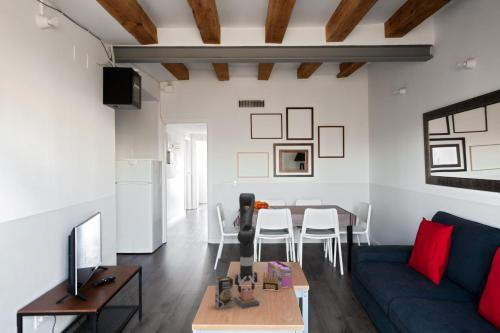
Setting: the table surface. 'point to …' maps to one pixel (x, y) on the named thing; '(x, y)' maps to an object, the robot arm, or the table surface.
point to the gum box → (281, 273)
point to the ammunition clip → (270, 281)
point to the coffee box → (224, 292)
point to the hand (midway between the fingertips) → (246, 290)
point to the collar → (246, 294)
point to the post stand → (246, 303)
